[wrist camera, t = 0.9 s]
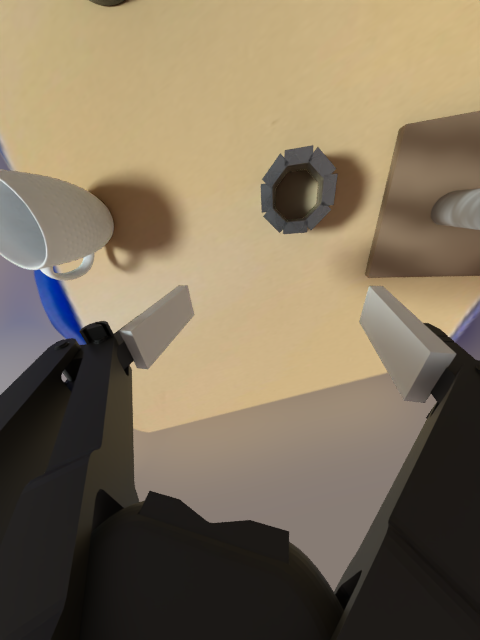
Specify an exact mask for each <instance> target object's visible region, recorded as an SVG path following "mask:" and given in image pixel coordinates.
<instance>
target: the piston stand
mask: <svg viewBox="0 0 480 640" xmlns="http://www.w3.org/2000/svg"><path fill="white" fill-rule="evenodd" d="M365 275H366V276H367V277H368V278H380V277H432V276H480V111H477V112H471V113H466V114H460V115H455V116H449V117H444V118H438V119H433V120H427V121H422V122H416V123H411V124H406V125H405V126H403V127H402V128H400V129H399V132H398V136H397V141H396V145H395V149H394V153H393V158H392V162H391V166H390V171H389V175H388V179H387V183H386V188H385V192H384V196H383V200H382V205H381V209H380V213H379V217H378V222H377V226H376V230H375V234H374V239H373V243H372V247H371V251H370V256H369V260H368V264H367V268H366V273H365Z"/></svg>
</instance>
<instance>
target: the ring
mask: <svg viewBox="0 0 480 640" xmlns="http://www.w3.org/2000/svg"><path fill="white" fill-rule="evenodd" d="M335 169H336V168H335V166H334V165H333V164H332V163H331V162H330V161H329V159H328V158H327V157H326V156H325V155H324V154H323V152H322V151H321V150H320V149H319V148H318V147H317V149H316V150H315V151H314V152H313V145H312V146H307V147H301V148H296V149H290V150H285V158H284V157H283V156H282V155H281V154H280V155H279V156H278V158H277V159H276V160H275V162H274V163H273V165H272V166H271V168H270V169H269V170H268V172H267V173H266V175H265V176H264V178H263V179H262V180H263V181H264V182H265V183H266V184H261V205H262V212H266V214H265V215H264V216H263V217H264V218H265V219H266V220H267V221H268V222H269V223H270V224H271V225H272V226H273V227H274V228H275V229H276V230H277V231H278V232H279V233H280V232H281V231H282V230H283V234H292V233H305V232H307V227H308V228H309V229H310V230H312V229H313V228H314V227H315V226H316V225H317V224H318V223H319V222H320V221H321V220H322V219H323V218H324V217H325V216H326V215H327V213H328V212H329V211H330V210H331V209H330V208H329V207H328V205H334V198H335V190H336V182H337V174H332V173H333V172H334V171H335ZM301 170H307V171H308V172H309V174H310V175H311V176H312V177H313V178H314V179H315V180H316V181H317V182H318V191H317V202H316V205H315V206H314V207H313V208H312V209H311V210H310V211H309V212H308V213H307V214H306V216H305V217H304V218H299V219H288V220H287V219H286V218H285V217H284V216H283V215H282V214H281V213H280V212H279V211H278V210H277V209H276V208H275V189H276V187H277V186H278V185H279V183H280V182H281V181H282V180H283V178H284V177H285V176H286V174H287V173H288V172H294V171H301Z"/></svg>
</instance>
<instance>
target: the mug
mask: <svg viewBox="0 0 480 640" xmlns="http://www.w3.org/2000/svg"><path fill="white" fill-rule="evenodd" d="M113 231H114V222H113V218H112V216H111V213H110V212H109V210H108V208H107V207H106V206H105V205H104V203H103V202H102V201H100V200H99V199H98V198H97V197H96V196H94V195H93V194H91V193H90V192H89V191H86V190H84V189H83V188H81V187H78V186H76V185H74V184H71V183H69V182H66V181H62V180H60V179H56V178H52V177H48V176H42V175H37V174H30V173H22V172H18V171H6V170H0V255H2V256H3V257H4V258H6V259H7V260H8V261H10V262H12V263H13V264H15V265H17V266H19V267H22V268H25V269H30V270H37V269H40V270H41V271H42V272H43V273H44V274H46V275H47V276H49V277H51V278H54V279H57V280H72V279H76V278H79V277H81V276H83V275H84V274H86V273H87V272H88V271H89V270H90V269H91V267H92V264H93V261H94V252H96V251H98V250H99V249H101V248H102V247H103V246H105V245H106V243H108V241H109V240H110V238H111V237H112V234H113ZM80 258H84V259H83V262H82V264H81V265H80V266H79V267H78V268H77V269H75V270H73V271H71V272H67V273H54V271H53V266H55V265H60V264H63V263H67V262H71V261H74V260H78V259H80Z"/></svg>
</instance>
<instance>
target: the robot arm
mask: <svg viewBox="0 0 480 640" xmlns="http://www.w3.org/2000/svg"><path fill="white" fill-rule="evenodd" d="M89 1H91V2H93V3H96V4H100V5H115V4H118V3H121V2H122V1H124V0H89ZM193 316H194V311H193V307H192V303H191V298H190V294H189V290H188V286H187V285H179V286H178V287H176V288H175V289H174V290H172V291H171V292H170V293H168V294H167V295H166V296H164V297H163V298H162V299H160V300H159V301H158V302H156V303H155V304H154V305H152V306H151V307H150V308H148V309H147V310H146V311H144V312H143V313H142V314H140V315H139V316H137V317H136V318H135V319H133V320H132V321H130V322H129V323H128V324H126V325H125V326H124V327H122V328H121V329H120V330H118V331H117V332H116V333H114V334H113V332H112V330H111V328H110V326H109V324H108V322H106V321H100V322H95V323H92V324H89V325H87V326H85V327H84V328H82V329H81V330H80V331H79V332H80V333H81V335H82V337H83V338H84V340H85V341H86V343H87V344H86V345H79V344H78V342H77V341H76V339H73V338H71V339H65V340H61V341H58V342H56V343H55V344H53V345H52V346H50V347H49V348H48V349H47V350H46V351H45V352H44V353H43V354H42V355H41V356H40V357H39V358H38V359H37V360H36V361H35V362H34V363H33V364H32V365H31V366H30V367H29V368H27V370H26V371H25V372H23V373H22V374H21V376H19V378H17V379H16V380H15V381H14V382H13V383H12V384H11V385H10V386H9V387H8V388H7V389H6V390H5V391H4V392H3V393H2V394H1V395H0V640H480V361H478V360H475V359H474V358H473V357H472V356H471V355H469V354H468V353H467V352H466V351H465V350H464V349H462V348H461V347H460V346H459V345H458V344H457V343H454V341H453V340H452V339H451V338H450V337H448V336H447V335H446V334H445V333H444V332H443V331H441V330H440V329H439V328H437V327H435V326H433V325H431V324H429V323H422V322H421V321H420V320H419V319H418V318H417V317H416V316H415V315H414V314H413V313H411V312H410V311H409V310H408V309H407V308H406V307H405V306H404V305H403V304H402V303H401V302H399V301H398V300H397V299H396V298H395V297H394V296H393V295H392V294H391V293H390V292H389V291H388V290H386V289H385V288H384V287H383V286H369V288H368V292H367V296H366V299H365V303H364V306H363V310H362V314H361V317H360V321H359V322H360V324H361V326H362V327H363V329H364V331H365V333H366V334H367V336H368V338H369V340H370V342H371V343H372V345H373V347H374V349H375V350H376V352H377V354H378V356H379V357H380V359H381V361H382V363H383V364H384V366H385V368H386V370H387V371H388V373H389V375H390V377H391V378H392V380H393V382H394V384H395V385H396V387H397V389H398V390H399V392H400V394H401V396H402V398H403V399H404V400H405V401H413V402H421V403H425V402H426V400H427V399H428V397H429V396H430V394H432V395H433V397H434V398H435V399H436V401H437V403H436V404H435V406H434V407H433V409H432V410H431V411H430V413H429V414H428V416H427V417H426V418H427V420H426V422H425V424H424V426H423V428H422V430H421V432H420V434H419V436H418V438H417V439H416V441H415V443H414V445H413V447H412V449H411V451H410V453H409V455H408V457H407V458H406V460H405V462H404V464H403V466H402V468H401V470H400V472H399V474H398V476H397V477H396V479H395V481H394V483H393V485H392V487H391V489H390V491H389V493H388V494H387V496H386V498H385V500H384V502H383V504H382V506H381V508H380V510H379V512H378V514H377V516H376V517H375V519H374V521H373V523H372V525H371V527H370V529H369V531H368V533H367V535H366V537H365V538H364V540H363V542H362V544H361V546H360V548H359V550H358V551H357V553H356V555H355V556H354V558H353V559H352V561H351V562H350V564H349V566H348V567H347V569H346V571H345V573H344V574H343V576H342V578H341V580H340V582H339V584H338V585H337V587H336V589H335V591H334V592H333V590H332V589H331V587H330V585H329V584H328V582H327V581H326V579H325V578H324V576H323V575H322V574H321V572H320V571H319V570H318V568H317V567H316V566H315V565H314V564H313V562H312V561H311V560H310V559H309V558H308V557H307V556H306V555H305V554H304V553H303V552H302V551H301V550H300V549H298V548H297V547H296V546H294V545H293V544H292V543H290V542H289V531H285V530H282V529H278V528H275V527H271V526H268V525H265V524H261V523H258V522H254V521H251V520H246V521H234V522H222V523H209V522H207V521H206V520H204V519H203V518H202V517H201V516H200V515H198V514H197V513H196V512H195V511H193V510H192V509H191V508H190V507H188V506H187V505H186V504H184V503H183V502H182V501H181V500H179V499H176V498H172V497H169V496H166V495H162V494H159V493H156V492H152V491H149V493H148V496H147V498H146V500H145V501H142V502H139V499H138V496H137V493H136V490H135V485H134V453H133V408H132V369H131V367H130V364H131V363H132V362H133V361H134V362H135V364H136V367H137V368H141V369H149V368H150V366H151V365H152V364H153V363H154V362H155V361H156V359H157V358H158V357H159V356H160V355H161V353H162V352H163V351H164V350H165V349H166V348H167V346H168V345H169V344H170V343H171V342H172V341H173V339H174V338H175V337H176V336H177V335H178V334H179V332H180V331H181V330H182V329H183V328H184V326H185V325H186V324H187V323H188V322H189V321H190V319H191V318H192V317H193ZM62 373H63V374H64V375H65V377H66V378H67V380H66V382H63V381H62V379H61V375H62Z"/></svg>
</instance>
